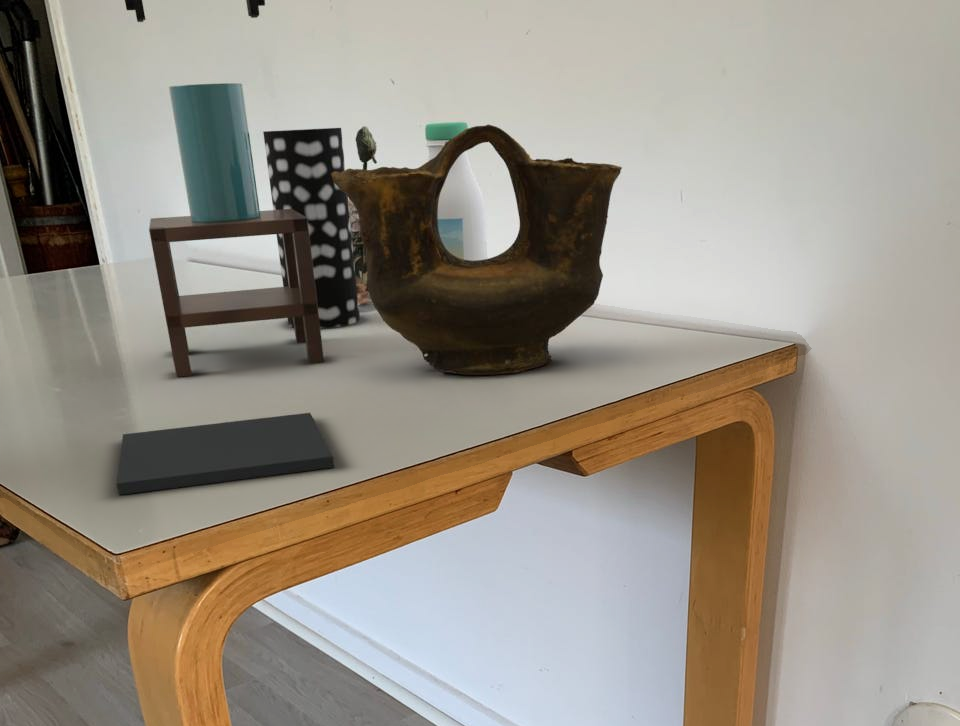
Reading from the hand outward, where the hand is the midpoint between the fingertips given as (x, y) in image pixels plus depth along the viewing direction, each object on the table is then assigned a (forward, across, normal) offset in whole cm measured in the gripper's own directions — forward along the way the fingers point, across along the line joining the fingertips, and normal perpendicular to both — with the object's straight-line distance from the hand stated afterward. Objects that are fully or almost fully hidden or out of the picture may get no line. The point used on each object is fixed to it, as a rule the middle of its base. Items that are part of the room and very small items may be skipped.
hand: (198, 18), depth 86 cm
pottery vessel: (+29, +20, -14) cm, 39 cm away
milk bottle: (+30, +24, +12) cm, 40 cm away
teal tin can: (+16, 0, +1) cm, 16 cm away
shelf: (+29, 0, 0) cm, 29 cm away
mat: (+29, -4, -33) cm, 44 cm away
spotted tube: (+30, +10, +16) cm, 35 cm away
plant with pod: (+30, +16, +26) cm, 42 cm away
